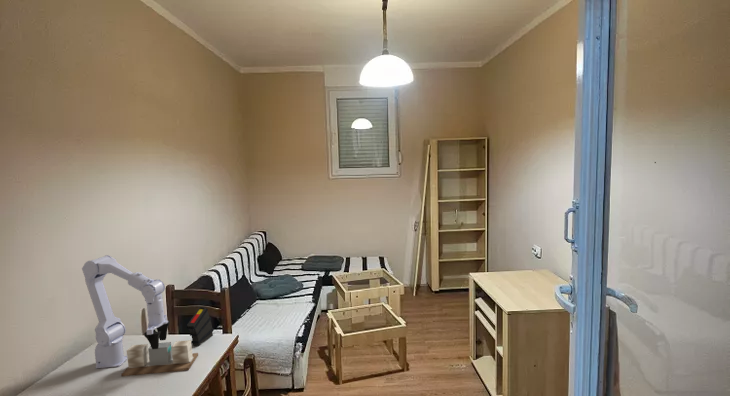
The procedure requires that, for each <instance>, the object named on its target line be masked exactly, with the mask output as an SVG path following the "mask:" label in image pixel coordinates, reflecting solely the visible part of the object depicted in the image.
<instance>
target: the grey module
mask: <svg viewBox="0 0 730 396" xmlns="http://www.w3.org/2000/svg"><path fill="white" fill-rule="evenodd" d="M148 353H149V360H150V366H152V365H163V364H169V363H170V361H171V360H172V359H173V357H172V341H168V342H167V341H166V342H159V347H158V349H152V348H151V345H150V346H148Z"/></svg>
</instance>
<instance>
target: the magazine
mask: <svg viewBox="0 0 730 396" xmlns="http://www.w3.org/2000/svg"><path fill="white" fill-rule="evenodd" d="M208 311H209V309H208V308H206V307H205V306H199V307H198V308H197V310H196V311H195V313H194V314H193V316H192V317H191V319H190V320H189V321H188V323H187V324H186V329H187V330H188V331H189V336H190V337H191V344H192V347H199V346H201V345H202V344H204V343H205V342H206V341H208V340H209V339H210V338H212V337H213V336H214V335H213V334H214V333H213V332H214V331H215V330H214V327H213V326H212V321H211V320H212V317H211V316H210V314H209V312H208Z"/></svg>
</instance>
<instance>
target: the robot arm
mask: <svg viewBox="0 0 730 396" xmlns="http://www.w3.org/2000/svg"><path fill="white" fill-rule="evenodd" d="M117 261H118V260H117V259H116V258H115V257H112V256H111V255H109V254H108V255H107V254H106V255H104V256H101V257H97V258H95V259H91V260H87V261H85V263H84V264H83V266H82V267H81V270H82V273H83V277H84V281H85V284H86V287H87V290H88V294H89V296H90V299H91V302H92V305H93V308H94V311H95V314H96V317H97V320H98V323H97V325H96V327H95V329H94V332H95V341H96V343H97V344H96V345H95V349H94V359H95V369H104V368H113V367H120V366H121V365H122V364H123V363H125V361H126V360H128V358H127V355H125V354H124V353H125V352H124V343H123V339H124V335H126V331H127V330H126V326H125V324H124V323H123V322H122V319H121V318H120V317H116V316H115V314H114V312H113V308H112V305H111V302H110V300H109V296H108V294H107V290H106V288H105V285H104V282H103V280H104V278H105V277H106V276H107V275H108V274H112V275H114V276H117V277H119V278H121V279H124V280H126V281H127V285H128V286H130V287H132V288H133V289H136V290H138V292H139V291H140V292H141V295H142V296H143V298H144V301H145V303H146V310H147V319H148V323H147V329H146V330H145V332H144V334H143V336H144V337H145V338H146V339H147V341H148V342H149V344H150V346H151V348H152V349H158V347H159V343H160V341H166V340H167V334H168V329H169V326H170V323H171V321H170V320H168V317H167V314H165V308H164V300H163V298H164V297H163V292H165V289H166V287H165V283H164V281H162V280H161V279H158V278H157V279H154V278H153V279H152V278H151V277H149V276H146V275H144V274H143V272H142V271H136V272H133V271H131V270H129V269H128V268H126V267H125V266H123V265H122V264H120V263H119V262H117Z"/></svg>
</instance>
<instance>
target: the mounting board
mask: <svg viewBox="0 0 730 396" xmlns="http://www.w3.org/2000/svg"><path fill="white" fill-rule="evenodd" d="M191 341H192V339H189V340H179V341H175V342H174V343H173V345H171V347H172V357H173V359H172V360H171V361H170V363H169V364H163V365H152V366H150V360H149V351H148V349H149V345H148V343H144V344H134V345H133V344H131V346H130V347H129V348H127V349H126V356H127V365H128V366H127V367H126V368H125V369H124V370H123V371H122V373H120V374H121V377H126V376H127V377H128V376H129V377H130V376H139V375H149V374H151V375H152V374H160V373H161V374H162V373H163V374H164V373H171V372H182V371H189V370H190V369H191V367H192V365H193V364H194V362H195V361H196V359H197V358H198V357H199V353H198V352H194V353H193V349H192V348H193V344H192V343H191Z"/></svg>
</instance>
